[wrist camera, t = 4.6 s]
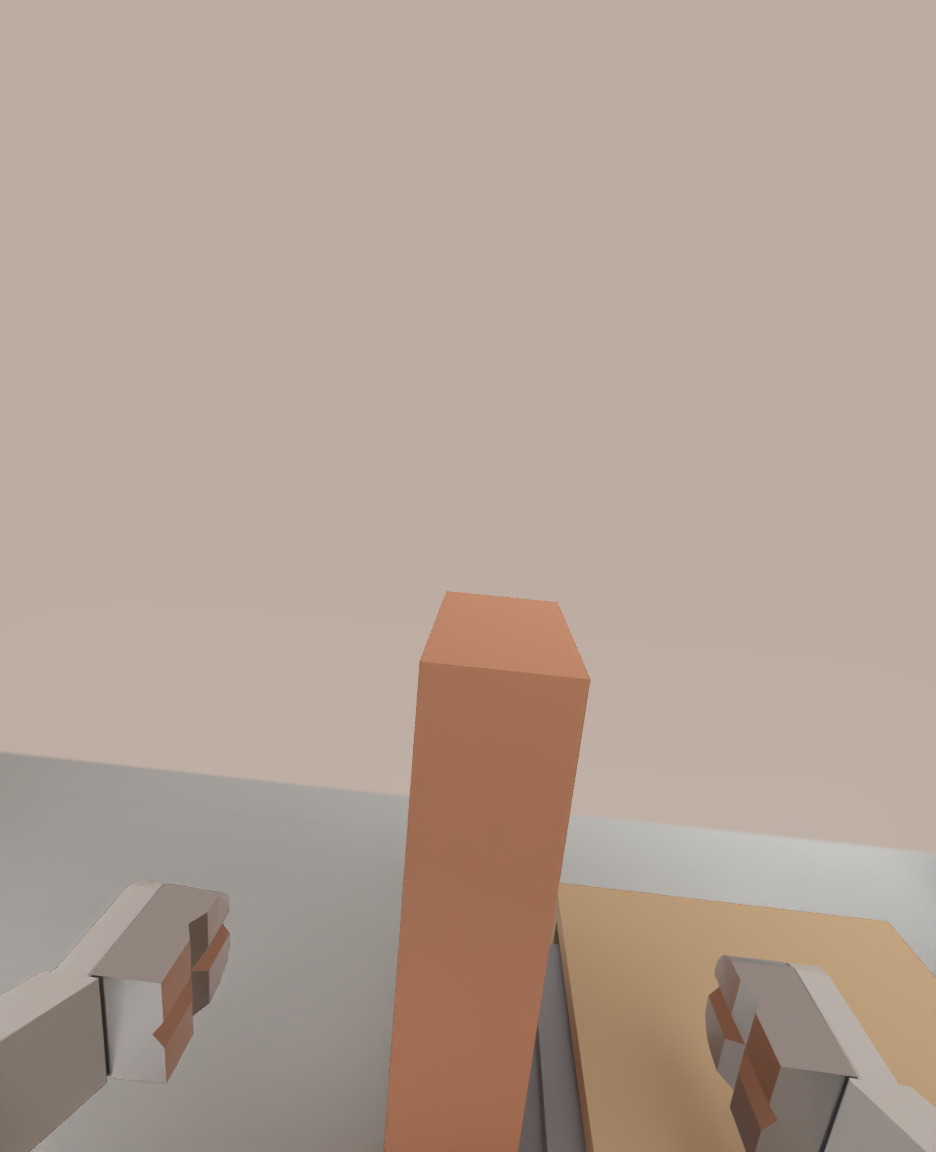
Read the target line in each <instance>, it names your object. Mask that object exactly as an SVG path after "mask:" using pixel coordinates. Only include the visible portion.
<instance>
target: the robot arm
mask: <svg viewBox="0 0 936 1152" xmlns="http://www.w3.org/2000/svg"><path fill="white" fill-rule="evenodd" d="M228 913H229V897H228V894H225V893H223V892H217V891H211V890H204V889H198V888H192V887H185V886H179V885H173V884H163V883H156V882H150V881H143V880H137V881H136V882H134V883H132V884H131V885H129V886H128V887H127V888H126V889H125V890H124V891H123V892H122V893H121V894H120V896H119V897H118V898H117V899H116V900H115V901H114V902H113V904H112V905H111V906H110V907H109V908H108V909H107V910H106V912H105V913H104V914H103V915H102V916H101V917H100V918H99V920H98V921H97V922H96V923H95V924H94V925H93V927H92V928H91V929H90V930H89V931H88V932H87V933H86V935H85V936H84V937H83V938H82V939H81V940H80V941H79V943H78V944H77V945H76V946H75V947H74V948H73V949H72V951H71V952H70V953H69V954H68V955H67V956H66V957H65V959H64V960H63V961H62V962H61V963H60V964H59V965H58V967H57V968H56V969H55V970H54V971H42V972H40V973H38V974H37V975H35V976H33V977H31V978H30V979H28V980H26V981H24V982H23V983H21V984H19V985H17V986H16V987H14V988H12V989H11V990H9V991H7V992H5V993H4V994H2V995H0V1152H30V1151H31V1150H32V1149H33V1148H34V1147H36V1146H37V1145H38V1144H39V1143H40V1142H41V1141H42V1140H43V1139H44V1138H46V1137H47V1136H48V1135H49V1134H50V1133H51V1132H52V1131H53V1130H55V1129H56V1128H57V1127H58V1126H59V1125H60V1124H61V1123H62V1122H63V1121H65V1120H66V1119H67V1118H68V1117H69V1116H70V1115H71V1114H72V1113H74V1112H75V1111H76V1110H77V1109H78V1108H79V1107H80V1106H81V1105H83V1104H84V1103H85V1102H86V1101H87V1100H88V1099H89V1098H90V1097H91V1096H93V1095H94V1094H95V1093H96V1092H97V1091H98V1090H99V1089H100V1088H102V1087H103V1086H104V1085H105V1084H106V1083H107V1078H113V1079H123V1080H133V1081H142V1082H152V1083H162V1084H166V1083H167V1082H168V1080H169V1078H170V1076H171V1074H172V1072H173V1070H174V1069H175V1067H176V1065H177V1063H178V1061H179V1059H180V1057H181V1055H182V1054H183V1052H184V1050H185V1048H186V1046H187V1044H188V1042H189V1041H190V1039H191V1037H192V1035H193V1015H194V1014H196V1013H197V1012H198V1011H200V1010H201V1009H202V1008H204V1007H205V1006H206V1005H207V1004H209V1003H210V1001H211V999H212V997H213V995H214V993H215V991H216V989H217V987H218V985H219V983H220V980H221V977H222V975H223V972H224V969H225V966H226V963H227V958H228V952H229V946H230V933H229V932H228V931H227V929H226V928H225V927H224V925H223V924H222V923H223V921H224V920H225V918H226V916H227V914H228ZM714 975H715V977H716V980H717V982H718V984H719V987H718V988H717V989H716V990H715V991H713V992H712V993H711V994H710V995H708V1000H707V1005H706V1010H705V1023H706V1036H707V1040H708V1045H709V1049H710V1053H711V1056H712V1059H713V1062H714V1065H715V1067H716V1070H717V1072H718V1073H719V1074H720V1075H721V1076H722V1078H723V1079H724V1080H725V1081H726V1082H727V1083H728V1084H729V1086H730V1087H731V1088H732V1089H733V1090H734V1091H733V1095H732V1099H731V1103H730V1110H731V1112H732V1115H733V1118H734V1121H735V1123H736V1126H737V1129H738V1132H739V1134H740V1137H741V1140H742V1143H743V1145H744V1148H745V1151H746V1152H936V1108H935V1107H934V1106H933V1105H932V1104H930V1103H929V1102H928V1101H927V1100H926V1099H925V1098H923V1097H922V1096H921V1095H920V1094H919V1093H918V1092H916V1091H915V1090H914V1089H913V1088H912V1087H910V1086H904V1085H899V1083H898V1081H897V1080H896V1078H895V1077H894V1075H893V1074H892V1072H891V1071H890V1069H889V1068H888V1066H887V1064H886V1063H885V1061H884V1060H883V1058H882V1057H881V1055H880V1054H879V1052H878V1051H877V1049H876V1047H875V1046H874V1044H873V1043H872V1041H871V1040H870V1038H869V1037H868V1035H867V1034H866V1032H865V1030H864V1029H863V1027H862V1026H861V1024H860V1023H859V1021H858V1020H857V1018H856V1017H855V1015H854V1013H853V1012H852V1010H851V1009H850V1007H849V1006H848V1004H847V1003H846V1001H845V1000H844V998H843V997H842V995H841V993H840V992H839V990H838V989H837V987H836V986H835V984H834V983H833V981H832V980H831V978H830V976H829V975H828V974H827V973H826V972H825V971H824V970H823V969H822V968H821V967H819V966H812V965H803V964H795V963H783V962H780V961H771V960H762V959H754V958H745V957H736V956H727V955H722V956H721V957H720V958H719V959H718V961H717V964H716V968H715V971H714Z"/></svg>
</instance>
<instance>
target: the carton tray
mask: <svg viewBox="0 0 936 1152" xmlns="http://www.w3.org/2000/svg"><path fill="white" fill-rule="evenodd" d="M589 684H590V678H589V675H588V673H587V670H586V668H585V666H584V663H583V661H582V659H581V656H580V654H579V652H578V649H577V647H576V645H575V642H574V640H573V638H572V635H571V633H570V630H569V628H568V626H567V624H566V621H565V619H564V616H563V614H562V612H561V609H560V607H559V605H558V602H549V601H538V600H528V599H519V598H509V597H499V596H488V595H479V594H469V593H459V592H449V591H447V592H446V594H445V596H444V599H443V602H442V604H441V607H440V609H439V612H438V615H437V617H436V620H435V623H434V625H433V628H432V630H431V633H430V636H429V639H428V641H427V644H426V646H425V649H424V652H423V654H422V657H421V660H420V664H419V679H418V692H417V706H416V719H415V720H416V721H415V732H414V746H413V760H412V773H411V787H410V801H409V814H408V828H407V842H406V855H405V869H404V883H403V896H402V910H401V924H400V937H399V951H398V965H397V978H396V992H395V1005H394V1019H393V1033H392V1046H391V1060H390V1074H389V1087H388V1101H387V1115H386V1128H385V1142H384V1152H586V1145H585V1137H584V1129H583V1121H582V1114H581V1106H580V1098H579V1091H578V1083H577V1075H576V1067H575V1060H574V1052H573V1044H572V1037H571V1029H570V1021H569V1013H568V1006H567V998H566V990H565V983H564V975H563V967H562V959H561V952H560V945H558V944H550V940H551V933H552V927H553V920H554V913H555V907H556V900H557V894H558V887H559V881H560V874H561V868H562V861H563V855H564V848H565V842H566V835H567V829H568V822H569V815H570V809H571V802H572V796H573V789H574V782H575V776H576V769H577V763H578V757H579V750H580V744H581V737H582V731H583V724H584V717H585V711H586V704H587V698H588V691H589Z"/></svg>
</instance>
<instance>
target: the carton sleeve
mask: <svg viewBox="0 0 936 1152" xmlns="http://www.w3.org/2000/svg"><path fill="white" fill-rule="evenodd" d="M550 944H558V945H560V952H561V959H562V967H563V975H564V983H565V990H566V998H567V1006H568V1013H569V1021H570V1029H571V1037H572V1044H573V1052H574V1060H575V1067H576V1075H577V1083H578V1091H579V1098H580V1106H581V1114H582V1121H583V1129H584V1137H585V1145H586V1152H746V1151H745V1148H744V1145H743V1143H742V1140H741V1137H740V1134H739V1132H738V1129H737V1126H736V1123H735V1121H734V1118H733V1115H732V1112H731V1110H730V1103H731V1099H732V1095H733V1091H734V1090H733V1089H732V1088H731V1087H730V1086H729V1084H728V1083H727V1082H726V1081H725V1080H724V1079H723V1078H722V1076H721V1075H720V1074H719V1073H718V1072H717V1070H716V1067H715V1065H714V1062H713V1059H712V1056H711V1053H710V1049H709V1045H708V1040H707V1036H706V1023H705V1010H706V1005H707V1000H708V995H710V994H711V993H712V992H713V991H715V990H716V989H717V988H718V987H719V984H718V982H717V980H716V977H715V975H714V971H715V968H716V964H717V961H718V959H719V958H720V957H721V956H722V955H727V956H736V957H745V958H754V959H762V960H771V961H780V962H783V963H795V964H803V965H812V966H819V967H821V968H822V969H823V970H824V971H825V972H826V973H827V974H828V975H829V976H830V978H831V980H832V981H833V983H834V984H835V986H836V987H837V989H838V990H839V992H840V993H841V995H842V997H843V998H844V1000H845V1001H846V1003H847V1004H848V1006H849V1007H850V1009H851V1010H852V1012H853V1013H854V1015H855V1017H856V1018H857V1020H858V1021H859V1023H860V1024H861V1026H862V1027H863V1029H864V1030H865V1032H866V1034H867V1035H868V1037H869V1038H870V1040H871V1041H872V1043H873V1044H874V1046H875V1047H876V1049H877V1051H878V1052H879V1054H880V1055H881V1057H882V1058H883V1060H884V1061H885V1063H886V1064H887V1066H888V1068H889V1069H890V1071H891V1072H892V1074H893V1075H894V1077H895V1078H896V1080H897V1081H898V1083H899V1085H904V1086H910V1087H912V1088H913V1089H914V1090H915V1091H916V1092H918V1093H919V1094H920V1095H921V1096H922V1097H923V1098H925V1099H926V1100H927V1101H928V1102H929V1103H930V1104H932V1105H933V1106H934V1107H935V1108H936V978H935V976H934V975H933V974H932V973H931V972H930V970H929V969H928V968H927V967H926V966H925V965H924V963H923V962H922V961H921V960H920V959H919V957H918V956H917V955H916V954H915V953H914V952H913V950H912V949H911V948H910V947H909V946H908V944H907V943H906V942H905V941H904V940H903V939H902V937H901V936H900V935H899V934H898V933H897V931H896V930H895V929H894V928H893V927H892V926H891V924H890V923H889V922H887V921H878V920H870V919H861V918H853V917H845V916H836V915H828V914H819V913H811V912H802V911H794V910H785V909H777V908H768V907H760V906H752V905H743V904H735V903H726V902H718V901H709V900H701V899H692V898H684V897H675V896H667V895H658V894H650V893H642V892H633V891H625V890H616V889H608V888H599V887H591V886H582V885H574V884H565V883H559V887H558V894H557V900H556V907H555V913H554V920H553V927H552V933H551V940H550Z"/></svg>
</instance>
